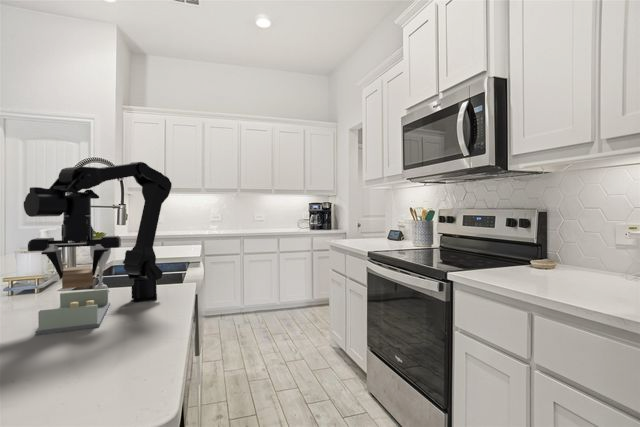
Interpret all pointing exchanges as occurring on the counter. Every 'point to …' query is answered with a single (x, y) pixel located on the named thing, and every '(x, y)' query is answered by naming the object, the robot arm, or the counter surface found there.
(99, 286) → the chalice
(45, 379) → the counter surface
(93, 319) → the peg cradle
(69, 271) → the shelf board
